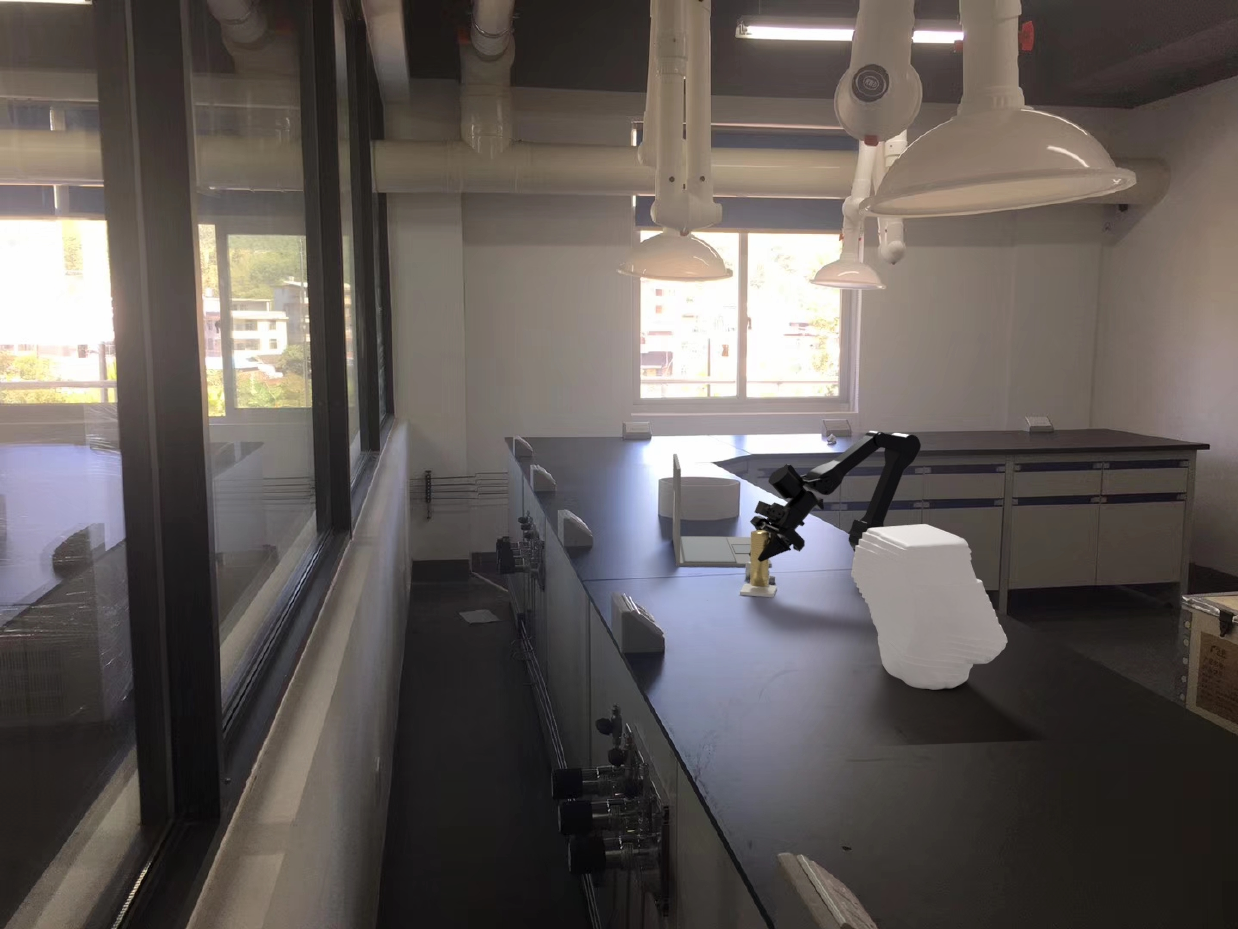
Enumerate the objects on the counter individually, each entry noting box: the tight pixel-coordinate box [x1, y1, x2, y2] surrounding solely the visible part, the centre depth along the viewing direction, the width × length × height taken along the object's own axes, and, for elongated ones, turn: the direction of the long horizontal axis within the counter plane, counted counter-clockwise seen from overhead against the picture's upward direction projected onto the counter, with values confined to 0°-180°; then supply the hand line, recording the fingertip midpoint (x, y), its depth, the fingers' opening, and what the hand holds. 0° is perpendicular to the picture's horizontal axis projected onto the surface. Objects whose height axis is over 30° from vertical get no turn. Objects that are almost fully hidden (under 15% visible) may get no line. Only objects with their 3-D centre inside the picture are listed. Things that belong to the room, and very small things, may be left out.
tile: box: [739, 583, 778, 598], centre depth 227 cm, size 8×8×1 cm
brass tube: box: [749, 530, 770, 587], centre depth 226 cm, size 4×4×13 cm
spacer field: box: [744, 562, 776, 585], centre depth 236 cm, size 8×10×4 cm
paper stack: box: [850, 523, 1008, 691], centre depth 168 cm, size 21×27×26 cm
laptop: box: [672, 453, 773, 568], centre depth 268 cm, size 35×26×27 cm
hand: (754, 558), depth 225 cm, fingers closed on brass tube, 4 cm apart
